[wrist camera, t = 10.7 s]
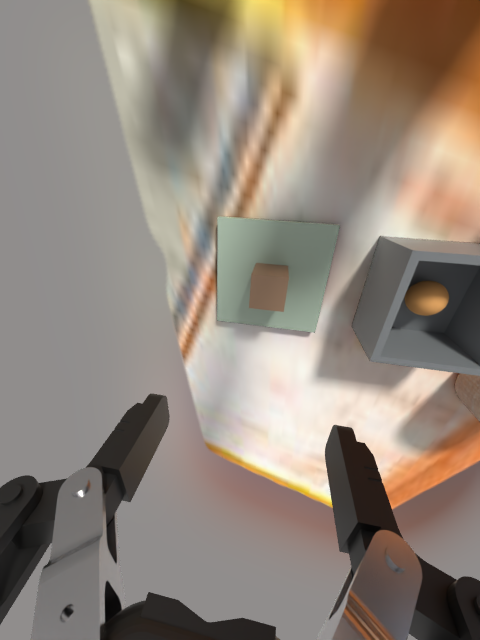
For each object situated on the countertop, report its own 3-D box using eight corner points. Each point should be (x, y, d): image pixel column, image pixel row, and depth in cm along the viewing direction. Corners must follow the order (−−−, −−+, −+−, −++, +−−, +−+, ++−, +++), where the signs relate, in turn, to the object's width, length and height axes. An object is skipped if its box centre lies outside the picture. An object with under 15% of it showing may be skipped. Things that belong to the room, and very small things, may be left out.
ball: (406, 274, 28) (423, 285, 25) (442, 277, 28) (465, 289, 24) (394, 305, 30) (408, 319, 27) (427, 308, 30) (447, 323, 26)
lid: (220, 215, 29) (205, 221, 24) (337, 223, 28) (351, 231, 22) (219, 315, 36) (207, 338, 30) (313, 327, 34) (319, 353, 29)
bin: (379, 236, 27) (413, 250, 20) (495, 244, 26) (573, 262, 19) (351, 326, 33) (369, 361, 26) (445, 336, 32) (490, 377, 25)
